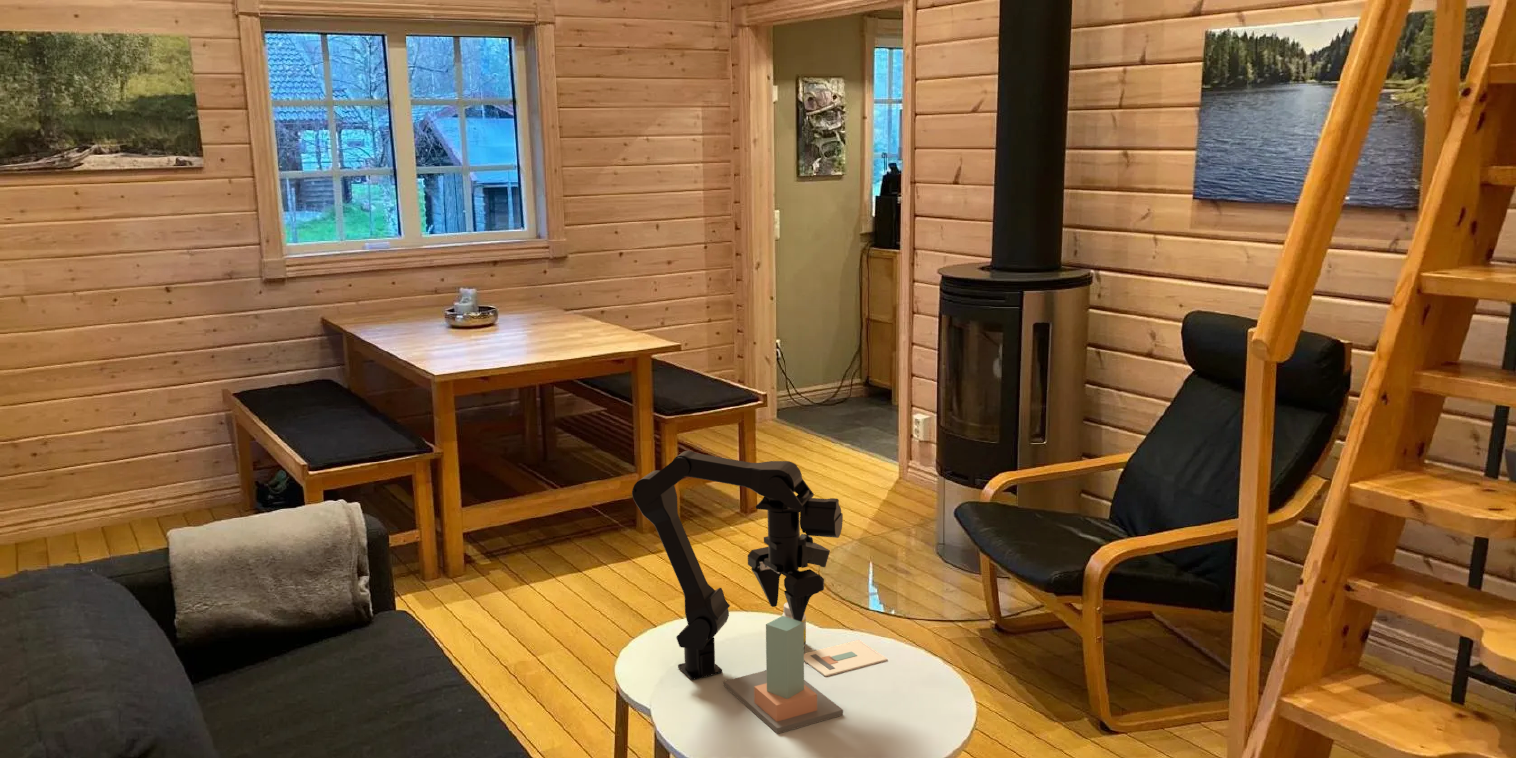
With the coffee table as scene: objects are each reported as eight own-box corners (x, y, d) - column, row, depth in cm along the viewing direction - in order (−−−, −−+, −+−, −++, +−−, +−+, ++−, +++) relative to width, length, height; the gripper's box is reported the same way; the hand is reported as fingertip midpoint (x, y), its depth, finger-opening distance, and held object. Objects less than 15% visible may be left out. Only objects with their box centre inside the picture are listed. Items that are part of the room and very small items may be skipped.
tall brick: (766, 691, 199) (765, 624, 196) (783, 681, 202) (782, 615, 200) (787, 699, 196) (786, 631, 194) (804, 689, 199) (803, 622, 197)
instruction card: (797, 656, 222) (797, 654, 221) (858, 641, 228) (858, 639, 228) (825, 676, 213) (825, 674, 213) (887, 660, 219) (887, 658, 219)
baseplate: (723, 686, 210) (723, 665, 209) (785, 670, 216) (785, 650, 215) (777, 733, 192) (777, 711, 192) (842, 714, 198) (842, 693, 198)
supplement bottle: (777, 646, 226) (776, 606, 225) (790, 637, 230) (789, 598, 228) (797, 652, 224) (797, 611, 222) (810, 643, 227) (810, 603, 226)
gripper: (849, 539, 201) (850, 623, 204) (797, 511, 217) (799, 589, 220) (793, 551, 196) (795, 636, 199) (745, 521, 212) (747, 601, 215)
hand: (785, 614), depth 209 cm, fingers open, 9 cm apart
